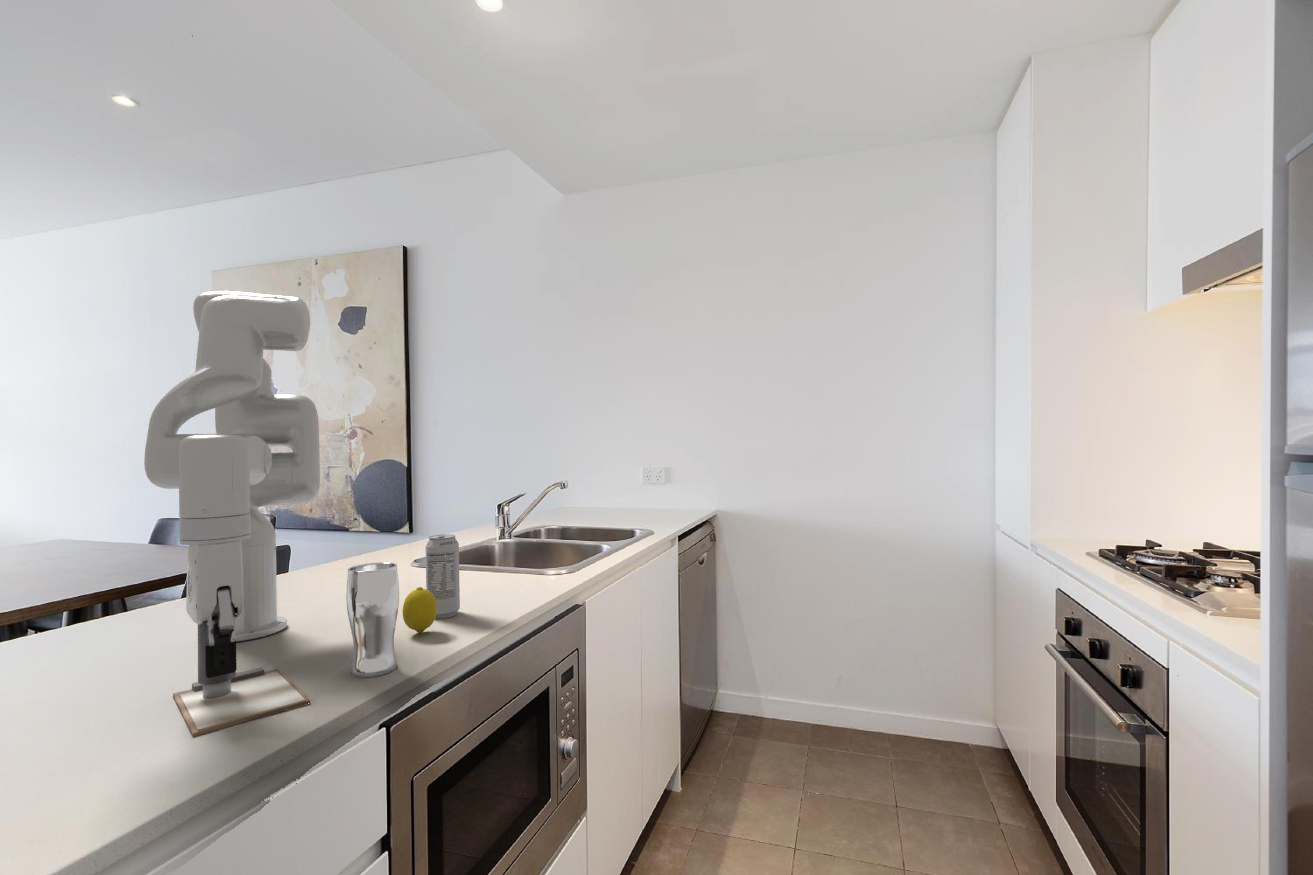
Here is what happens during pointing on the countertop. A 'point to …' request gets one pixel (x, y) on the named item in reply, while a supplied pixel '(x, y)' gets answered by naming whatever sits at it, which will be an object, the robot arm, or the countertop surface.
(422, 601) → the lemon
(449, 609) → the energy drink can
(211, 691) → the grey rounded cylinder
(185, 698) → the clipboard
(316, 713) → the countertop surface
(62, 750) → the countertop surface
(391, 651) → the beer glass
